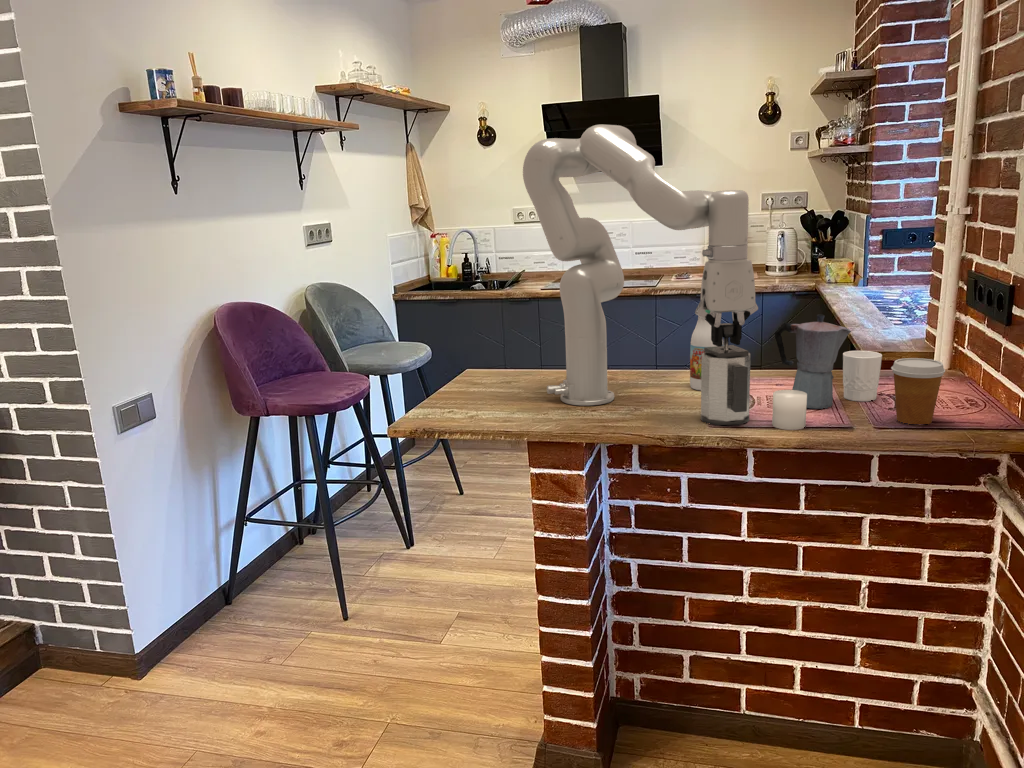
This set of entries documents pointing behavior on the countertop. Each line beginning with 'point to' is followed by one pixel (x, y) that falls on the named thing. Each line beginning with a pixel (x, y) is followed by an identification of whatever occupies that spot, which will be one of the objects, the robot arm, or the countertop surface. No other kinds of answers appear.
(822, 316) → the moka pot
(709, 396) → the press carafe
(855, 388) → the white cup
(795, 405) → the white pillar candle
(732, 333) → the plunger
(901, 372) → the disposable coffee cup
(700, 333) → the milk bottle
